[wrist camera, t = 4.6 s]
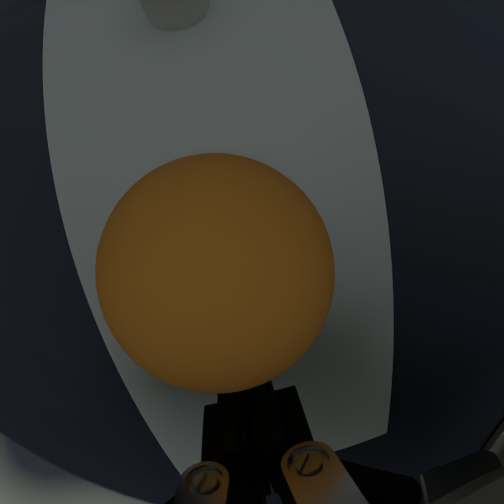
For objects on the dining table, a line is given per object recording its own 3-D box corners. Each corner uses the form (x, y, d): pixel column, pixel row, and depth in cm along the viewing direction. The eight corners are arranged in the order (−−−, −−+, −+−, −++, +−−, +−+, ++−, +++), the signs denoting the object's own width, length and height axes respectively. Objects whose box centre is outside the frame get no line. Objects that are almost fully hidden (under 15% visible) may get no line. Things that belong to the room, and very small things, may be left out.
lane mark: (385, 430, 14) (386, 432, 13) (183, 474, 13) (182, 477, 13) (273, -103, 6) (274, -105, 6) (57, -51, 6) (56, -53, 6)
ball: (410, 345, 6) (335, 106, 6) (155, 480, 3) (61, 118, 4) (283, 336, 11) (241, 191, 12) (134, 390, 9) (88, 219, 9)
